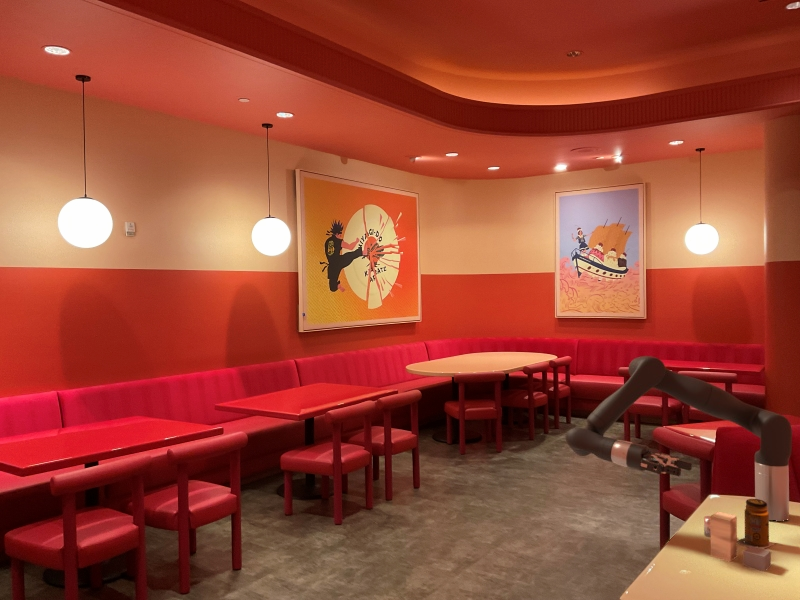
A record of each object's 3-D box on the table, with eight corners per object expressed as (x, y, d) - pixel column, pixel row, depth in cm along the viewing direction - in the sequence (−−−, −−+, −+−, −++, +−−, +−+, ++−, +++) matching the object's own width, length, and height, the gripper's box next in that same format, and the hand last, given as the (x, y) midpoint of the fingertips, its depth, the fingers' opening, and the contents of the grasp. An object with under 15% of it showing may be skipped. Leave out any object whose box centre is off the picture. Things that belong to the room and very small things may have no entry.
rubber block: (750, 560, 170) (749, 545, 170) (770, 566, 166) (770, 550, 166) (743, 566, 166) (743, 551, 166) (764, 572, 162) (764, 556, 162)
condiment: (775, 544, 180) (775, 502, 180) (760, 551, 175) (759, 508, 175) (749, 536, 186) (749, 495, 186) (733, 542, 181) (733, 501, 181)
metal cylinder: (707, 531, 190) (707, 514, 190) (721, 535, 187) (721, 518, 187) (702, 535, 187) (701, 518, 187) (716, 538, 184) (716, 521, 184)
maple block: (717, 550, 176) (717, 511, 176) (737, 556, 172) (736, 515, 172) (710, 556, 172) (710, 516, 172) (730, 561, 169) (729, 520, 169)
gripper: (621, 446, 184) (678, 461, 173) (641, 439, 195) (696, 452, 184) (619, 471, 185) (675, 487, 174) (638, 463, 195) (693, 477, 184)
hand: (686, 469), depth 179 cm, fingers open, 8 cm apart
